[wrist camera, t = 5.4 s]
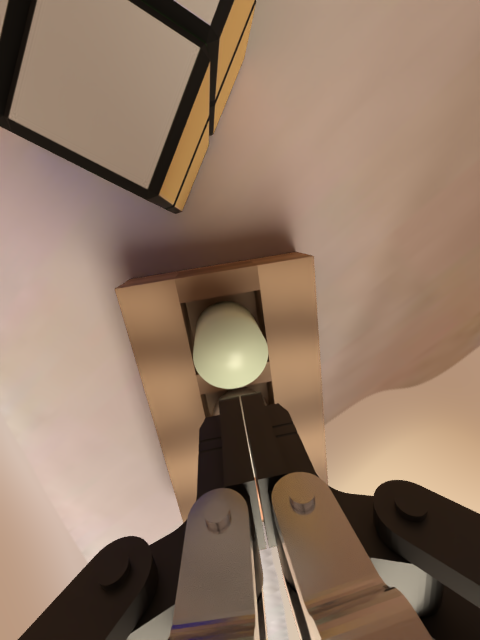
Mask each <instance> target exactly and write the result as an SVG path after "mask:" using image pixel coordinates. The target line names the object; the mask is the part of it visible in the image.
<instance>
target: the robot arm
mask: <svg viewBox="0 0 480 640" xmlns="http://www.w3.org/2000/svg"><path fill="white" fill-rule="evenodd" d="M241 402H242V407H243V413H244V419H245V425H246V431H247V436H246V431H245V426H244V420H243V415H242V410H241V405H240V400H239V396H236V397H231V398H226V399H220V400H219V413H220V415H216V416H211V417H206V418H205V420H204V422H203V423H202V425H201V427H200V429H199V450H198V452H199V454H198V476H197V498H196V502H195V503H194V504H193V506H192V508H191V509H190V512H189V514H188V518H187V520H186V521H185V522H184V523H183V524H182V525H181V526H180V527H179V528H178V529H176V530H175V531H174V532H172V533H170V534H169V535H167V536H165V537H163V538H162V539H160V540H158V541H156V542H155V543H153V544H151V545H148V544H147V542H146V541H145V540H143V539H142V538H140V537H136V536H128V537H123V538H120V539H117V540H115V541H113V542H112V543H110V544H108V545H107V546H106V547H104V548H103V549H102V550H101V551H100V552H99V553H98V554H97V555H96V556H95V557H94V558H93V559H92V560H91V561H90V562H89V563H88V564H87V565H86V567H85V568H84V569H83V570H82V571H81V572H80V573H79V574H78V575H77V576H76V577H75V578H74V580H73V581H72V582H71V583H70V584H69V585H68V586H67V587H66V588H65V589H64V590H63V592H61V594H60V595H59V596H58V597H57V598H56V599H55V600H54V601H53V602H52V603H51V604H50V605H49V607H48V608H47V609H46V610H45V611H44V612H43V613H42V614H41V615H40V616H39V618H37V620H36V621H35V622H34V623H33V624H32V625H31V626H30V627H29V628H28V629H27V630H26V632H25V633H24V634H23V635H22V636H21V637H20V638H19V639H18V640H268V637H267V627H266V616H265V605H264V595H263V587H262V586H263V571H262V565H261V559H260V553H259V550H263V549H267V548H266V542H265V537H264V531H263V525H262V519H261V513H260V507H259V501H258V495H257V489H258V494H259V499H260V504H261V509H262V514H263V519H264V525H265V530H266V535H267V540H268V545H269V548H271V547H275V546H277V548H278V552H279V558H280V562H281V567H282V573H283V580H284V585H285V588H286V592H287V595H288V598H289V602H290V606H291V609H292V613H293V616H294V620H295V623H296V627H297V630H298V634H299V637H300V640H480V514H479V513H476V512H474V511H472V510H470V509H468V508H466V507H464V506H462V505H460V504H458V503H455V502H453V501H451V500H449V499H447V498H445V497H443V496H441V495H439V494H437V493H435V492H432V491H430V490H428V489H426V488H424V487H422V486H420V485H417V484H415V483H412V482H408V481H403V480H392V481H387V482H385V483H383V484H381V485H380V486H379V487H378V488H377V489H376V491H375V493H374V496H366V495H357V494H349V493H344V492H340V491H338V490H335V489H333V488H331V487H330V486H328V485H327V484H326V483H325V482H324V481H323V480H322V479H320V478H319V476H318V475H317V474H316V472H315V470H314V467H313V465H312V463H311V461H310V459H309V456H308V454H307V452H306V450H305V447H304V445H303V443H302V441H301V439H300V436H299V434H298V433H297V430H296V427H295V425H294V424H293V421H292V418H291V416H290V414H289V412H288V411H287V410H286V409H285V408H284V407H282V406H281V405H280V404H279V403H277V404H272V405H267V406H265V403H264V400H263V397H262V394H261V392H256V393H251V394H246V395H241ZM247 437H248V441H247ZM248 442H249V447H248ZM249 448H250V452H249ZM250 453H251V457H250ZM251 458H252V462H251ZM252 463H253V467H252ZM253 468H254V473H255V478H256V483H255V478H254V473H253ZM256 484H257V489H256Z"/></svg>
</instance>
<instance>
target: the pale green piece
mask: <svg viewBox="0 0 480 640" xmlns="http://www.w3.org/2000/svg"><path fill="white" fill-rule="evenodd" d="M267 359H268V346H267V343H266V340H265V338H264V336H263V334H262V332H261V331H260V329H259V327H258V325H257V323H256V321H255V319H254V317H253V316H252V314H251V313H250V311H249V310H248V309H247V308H246V307H244V306H243V305H241V304H239V303H236V302H232V301H221V302H217V303H215V304H212V305H210V306H209V307H208V308H206V309H205V310H204V311H203V312H202V314H201V315H200V317H199V319H198V321H197V324H196V332H195V341H194V350H193V361H194V365H195V368H196V370H197V372H198V373H199V375H200V376H201V377H202V378H203V379H204V380H205V381H206V382H208V383H209V384H211V385H213V386H216V387H219V388H224V389H234V388H239V387H243V386H245V385H247V384H249V383H251V382H253V381H254V380H255V379H256V378H257V377H258V376H259V375H260V374H261V373H262V371H263V370H264V368H265V366H266V363H267Z"/></svg>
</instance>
